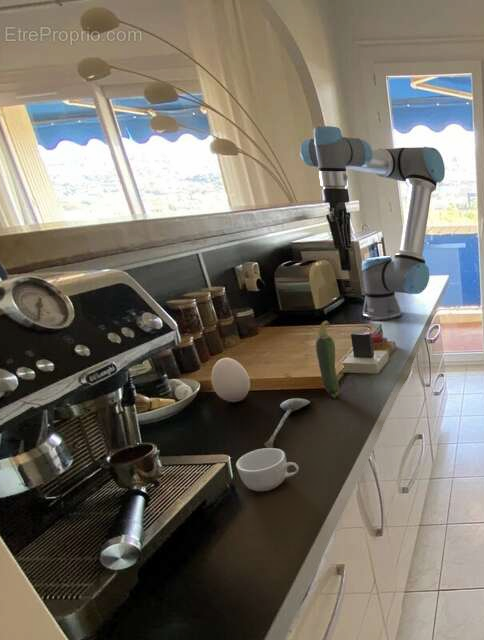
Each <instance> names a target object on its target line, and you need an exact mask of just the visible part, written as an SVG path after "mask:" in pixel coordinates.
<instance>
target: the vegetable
mask: <svg viewBox="0 0 484 640" xmlns="http://www.w3.org/2000/svg"><path fill="white" fill-rule="evenodd" d="M327 327H330V323H329V321H328V320H324V321H323V322H321V323H320V326H319V329H318V337H317V339H316V341H315V351H316V358H317V361H318V367H319V371H320V376H321V381H322V384H323V387H324V390H325V391H326V392H327V394H329V395H331V397H333V398H334V399H336V397H338V395H339V394H340V384H339V380H338V379H339V378H338V375H337V372H336V344H335V341H334V339H333V337H331V336H329V335H328V334H329V333H328V329H327Z"/></svg>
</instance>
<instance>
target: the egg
mask: <svg viewBox="0 0 484 640" xmlns="http://www.w3.org/2000/svg"><path fill="white" fill-rule="evenodd" d="M210 379H211V386H212V388H213V390H214V393H216V395H217V396H218V397H219V398H220V399H222V400H224V401H226V402H229V403H238V402H241V401H243V400H244V399H246V397H247V395H248V393H249V391H250V388H251V379H250V377H249V373H248V372H247V370H246V369H245V368H244V367H243V365H242V364H241V363H240V362H239V361H237V360H235V359H233V358H231V357H223V358H220V359H219V360H218V361H216V363H214V365H213V367H212V371H211V376H210Z"/></svg>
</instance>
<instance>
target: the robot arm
mask: <svg viewBox="0 0 484 640" xmlns="http://www.w3.org/2000/svg"><path fill="white" fill-rule="evenodd" d="M299 153H300V158H301V159H302V161H303V162H304V163H305V164H306V165H307V166H309V167H316V168H318V175H319V181H320V187H322V190H321V194H322V201H323V202H324V203H326V204H327V203H328V206H329V207H328V208H329V209H328V210H329V214H326V215H325V216H326V217H325V218H326V220H327V222H328V225H329V229H330V233H331V237H332V241H333V246H334V249H335V250H338V257H339V264H340V269H341V271H345V272H347V271H349V272H350V271H352V270H353V269H352V263H351V254H350V249H352V247H353V246H352V235H351V233H352V232H351V231H352V230H351V212H350V211H348V210H347V205H346V203H350V202H351V197H350V190H349V188H347V187H348V186H349V184H348V180H349V175H347V170H348V171H356V172H363V173H370V174H376V176H378V177H381V178H384V179H385V178H386V179H391V180H395V181H399V182H404V183H405V185H406V186H407V187H408V189H407V196H406V204H405V211H404V218H403V225H402V231H401V238H400V246H399V251H397V252H395V254H394V259H393V258H392V257H391V256H390V255H383V256H375V257H369V258H365V259H363V260H362V261H361V274H362V282H363V289H364V297H365V298H364V303H363V307H362V317H363V318H364V319H365V320H370V321H388V320H393V319H397V318H399V317H401V316H402V309H401V307H400V304H399V302H398V300H397V298H396V293H399V294H400V293H401V294H407V295H419V294H421V293H423V292H424V291H425V290H426V288H427V287H428V286H429V285H428V284H429V281H430V269H429V266H428V265H427V264H426V259H425V258H424V256H423V253H424V245H425V239H426V233H427V226H428V225H427V224H428V218H429V213H430V204H431V197H432V194H433V193H434V192H436V190H437V184H440V183H442V182H443V180H444V179H445V174H446V168H445V161H444V159H443V156H442V154H441V153H440V151H439V150H438V148H435V147H431V146H430V147H429V146H421V147H395V148H382V147H380V148H377V149H373V148H372V147H371V145H370V143H369V142H368V141H367V140H364V139H360V138H359V137H355V138H354V137H345V136H343V134H342V130H341V128H340V127H338V126H333V125H332V126H331V125H329V126H328V125H318V126H317V125H316V126H315V127H314V128H313V138H310V139H303V140H302V142H301V143H300V146H299Z"/></svg>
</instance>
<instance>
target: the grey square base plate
mask: <svg viewBox="0 0 484 640" xmlns="http://www.w3.org/2000/svg"><path fill="white" fill-rule="evenodd" d="M347 355H348V354H347ZM389 357H390V356H388V351H374V356H373V357H372V358H363V357H354V353H353V352H352V353H351V354H350V355H348V357H347V358H346V359H345V360H344V361H343V362H342V363H343V365H344V369H342V370H341V371H340V370H339V371H340V373H349V374H353V373H355V374H379V373H380V371H382V369H383V368H384V367H385V366H386V364H387V363H388V362H389V361H390V358H389Z"/></svg>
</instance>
